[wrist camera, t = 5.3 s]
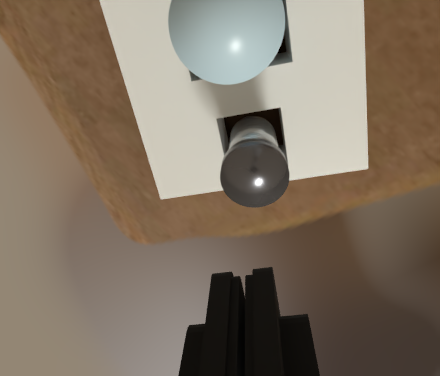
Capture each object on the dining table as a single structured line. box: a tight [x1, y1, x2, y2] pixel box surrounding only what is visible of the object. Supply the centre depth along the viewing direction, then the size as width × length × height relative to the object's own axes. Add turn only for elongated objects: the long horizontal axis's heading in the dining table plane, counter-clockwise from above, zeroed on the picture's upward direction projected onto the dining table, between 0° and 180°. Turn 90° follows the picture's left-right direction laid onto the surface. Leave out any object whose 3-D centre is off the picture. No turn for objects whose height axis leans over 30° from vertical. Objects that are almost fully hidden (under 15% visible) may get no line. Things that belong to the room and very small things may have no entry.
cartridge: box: [168, 0, 285, 85], centre depth 20 cm, size 5×5×10 cm
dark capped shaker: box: [220, 116, 289, 207], centre depth 22 cm, size 4×4×6 cm
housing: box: [100, 0, 368, 199], centre depth 23 cm, size 21×14×4 cm, turn 11°
